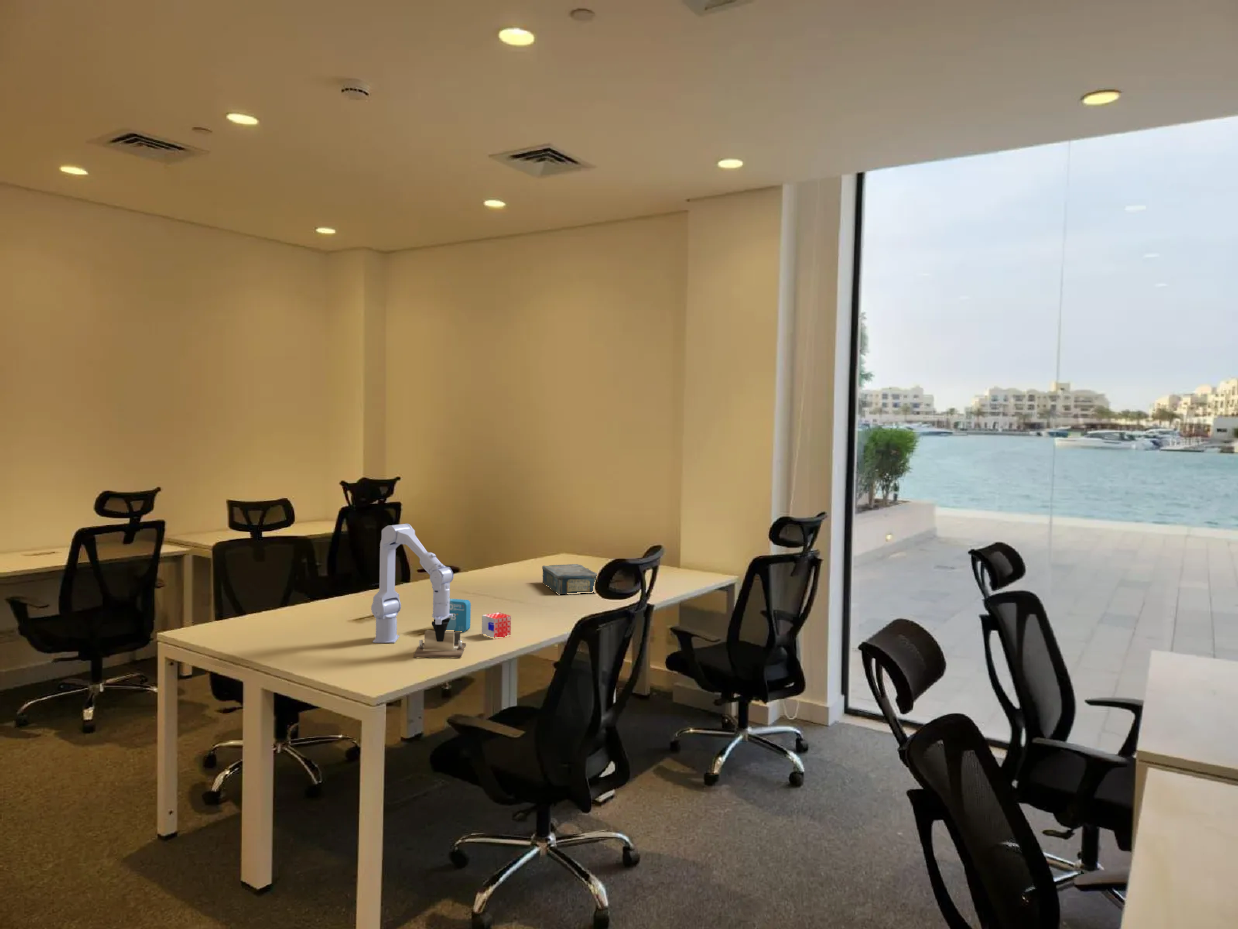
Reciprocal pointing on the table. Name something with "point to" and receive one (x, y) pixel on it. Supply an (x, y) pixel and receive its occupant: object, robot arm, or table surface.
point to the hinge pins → (422, 644)
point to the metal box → (568, 578)
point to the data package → (459, 615)
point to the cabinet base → (442, 650)
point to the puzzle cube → (496, 625)
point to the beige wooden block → (433, 644)
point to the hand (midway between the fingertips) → (440, 640)
